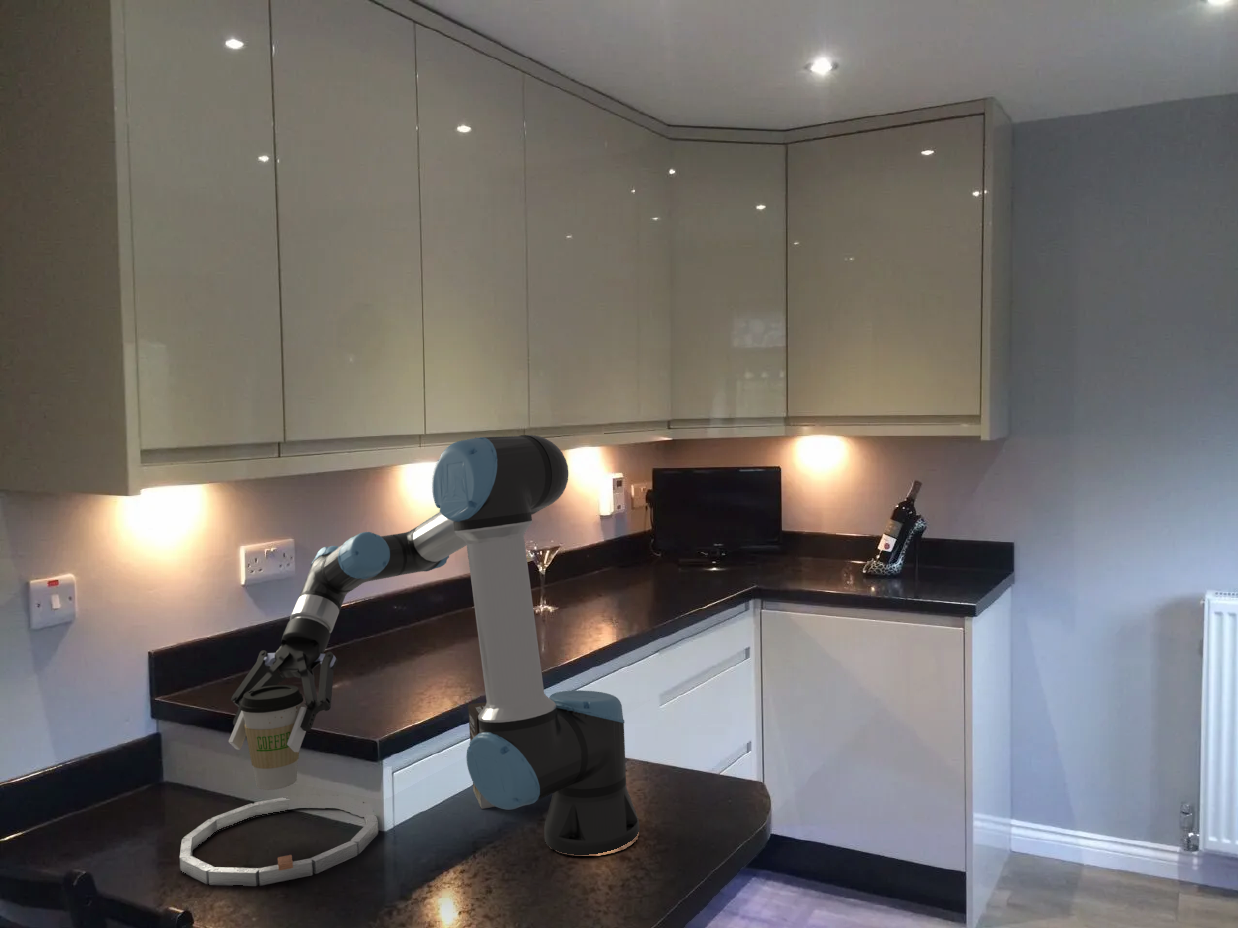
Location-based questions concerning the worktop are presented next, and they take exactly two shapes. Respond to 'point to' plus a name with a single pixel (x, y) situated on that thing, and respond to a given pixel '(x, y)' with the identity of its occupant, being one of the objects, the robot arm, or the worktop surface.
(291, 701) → the coffee cup
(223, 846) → the worktop surface
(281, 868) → the centring ring
